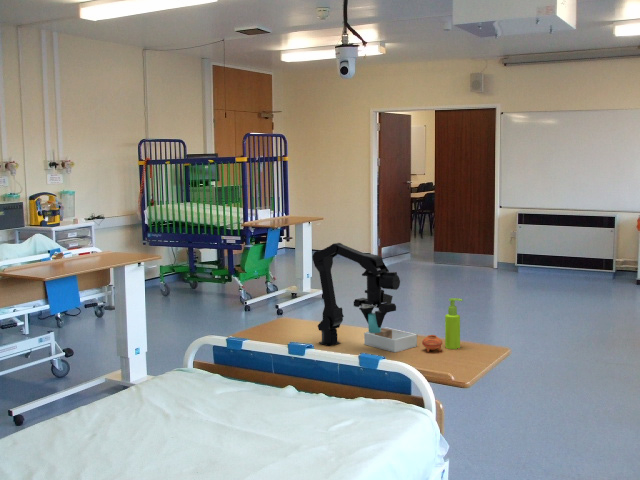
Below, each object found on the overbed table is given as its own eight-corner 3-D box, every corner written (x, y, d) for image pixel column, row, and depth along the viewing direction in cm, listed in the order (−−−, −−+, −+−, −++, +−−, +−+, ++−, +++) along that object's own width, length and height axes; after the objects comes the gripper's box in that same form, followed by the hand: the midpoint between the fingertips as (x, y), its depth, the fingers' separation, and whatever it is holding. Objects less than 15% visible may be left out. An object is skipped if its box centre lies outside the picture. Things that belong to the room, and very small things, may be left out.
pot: (443, 347, 260) (443, 332, 258) (440, 357, 253) (440, 341, 251) (424, 345, 262) (423, 330, 260) (420, 355, 255) (420, 339, 253)
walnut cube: (383, 343, 265) (383, 332, 265) (375, 341, 269) (374, 329, 269) (392, 341, 269) (391, 329, 268) (383, 339, 272) (383, 327, 272)
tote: (364, 344, 268) (364, 332, 268) (386, 338, 277) (386, 327, 276) (394, 352, 255) (394, 340, 255) (417, 346, 264) (416, 334, 263)
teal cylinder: (365, 331, 257) (365, 314, 256) (375, 329, 260) (374, 312, 259) (374, 333, 253) (374, 316, 252) (383, 331, 256) (383, 314, 255)
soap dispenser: (462, 349, 257) (462, 300, 255) (445, 348, 259) (445, 299, 257) (462, 345, 263) (462, 297, 261) (445, 345, 264) (445, 297, 262)
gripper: (405, 287, 253) (406, 326, 254) (372, 282, 267) (372, 319, 269) (385, 291, 246) (386, 331, 247) (352, 285, 260) (353, 323, 262)
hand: (374, 326), depth 256 cm, fingers closed on teal cylinder, 5 cm apart
